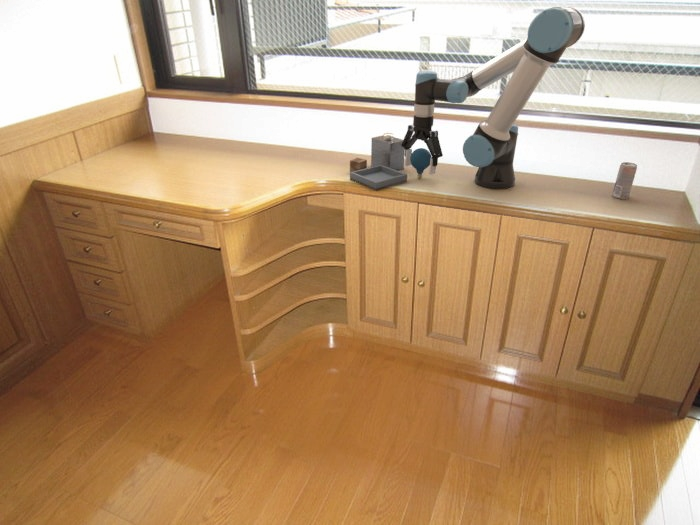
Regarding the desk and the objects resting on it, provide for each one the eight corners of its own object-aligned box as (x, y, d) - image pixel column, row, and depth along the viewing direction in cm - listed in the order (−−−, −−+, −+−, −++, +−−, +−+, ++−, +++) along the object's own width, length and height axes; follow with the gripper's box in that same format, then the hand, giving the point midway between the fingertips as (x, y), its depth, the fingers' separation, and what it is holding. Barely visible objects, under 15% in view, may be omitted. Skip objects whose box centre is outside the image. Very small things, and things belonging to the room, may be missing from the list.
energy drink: (623, 193, 179) (632, 162, 174) (631, 199, 175) (640, 166, 169) (609, 194, 179) (617, 162, 173) (616, 199, 174) (625, 166, 169)
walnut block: (366, 171, 205) (366, 159, 202) (359, 174, 201) (359, 162, 199) (357, 169, 207) (357, 157, 205) (349, 172, 204) (349, 160, 201)
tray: (406, 181, 193) (407, 174, 191) (375, 190, 184) (376, 182, 183) (380, 171, 204) (380, 164, 202) (350, 179, 195) (349, 172, 194)
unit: (403, 168, 207) (405, 135, 201) (389, 172, 203) (390, 138, 196) (384, 162, 216) (385, 130, 209) (370, 165, 212) (371, 132, 205)
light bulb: (429, 175, 200) (431, 145, 194) (430, 181, 192) (432, 151, 187) (409, 174, 200) (410, 145, 195) (409, 181, 193) (410, 151, 187)
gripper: (455, 119, 178) (449, 175, 188) (408, 108, 195) (405, 160, 205) (441, 122, 174) (436, 179, 184) (394, 110, 191) (391, 163, 201)
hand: (419, 169), depth 195 cm, fingers open, 13 cm apart
